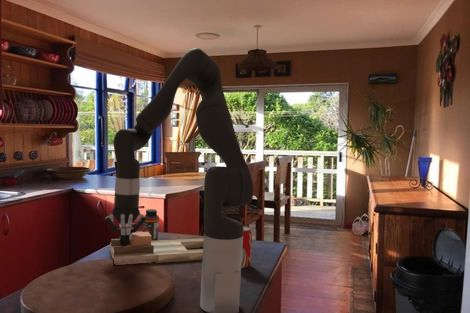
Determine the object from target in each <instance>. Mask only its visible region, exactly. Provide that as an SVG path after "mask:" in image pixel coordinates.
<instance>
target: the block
mask: <svg viewBox="0 0 470 313" xmlns="http://www.w3.org/2000/svg"><path fill="white" fill-rule="evenodd" d="M151 237H152V236H151V235H150V233H149V232H142V231H136V232H135V233H131V234H130V238H131V246H144V245H151Z"/></svg>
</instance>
